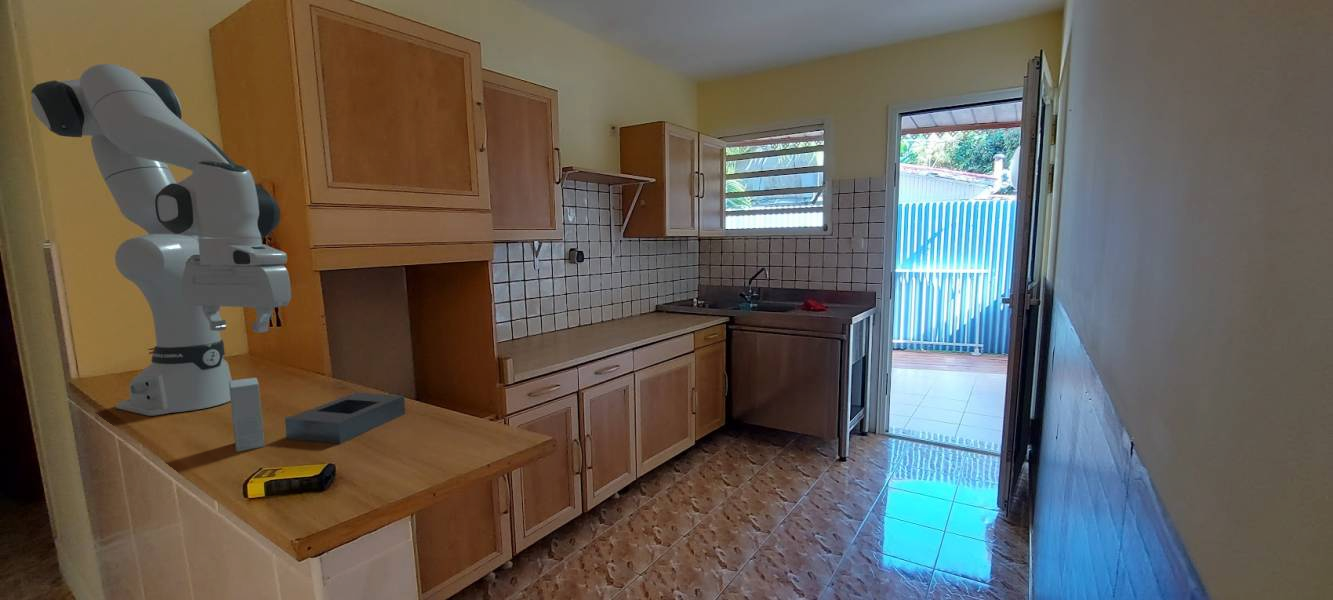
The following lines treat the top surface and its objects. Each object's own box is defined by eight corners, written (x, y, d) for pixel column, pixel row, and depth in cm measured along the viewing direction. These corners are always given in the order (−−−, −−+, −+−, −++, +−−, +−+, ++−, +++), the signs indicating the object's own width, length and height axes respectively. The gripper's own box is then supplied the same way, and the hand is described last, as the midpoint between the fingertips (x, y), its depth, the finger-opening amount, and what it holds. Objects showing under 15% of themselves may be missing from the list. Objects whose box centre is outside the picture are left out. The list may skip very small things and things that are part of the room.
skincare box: (234, 442, 101) (228, 380, 100) (262, 437, 104) (257, 376, 103) (235, 452, 97) (229, 387, 95) (264, 446, 99) (259, 383, 98)
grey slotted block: (286, 438, 103) (284, 418, 103) (357, 409, 121) (356, 392, 120) (340, 443, 101) (338, 423, 100) (405, 413, 118) (404, 395, 118)
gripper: (166, 254, 95) (175, 332, 97) (262, 255, 91) (269, 335, 93) (203, 253, 101) (211, 326, 103) (294, 254, 97) (300, 329, 99)
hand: (239, 331), depth 98 cm, fingers open, 8 cm apart
